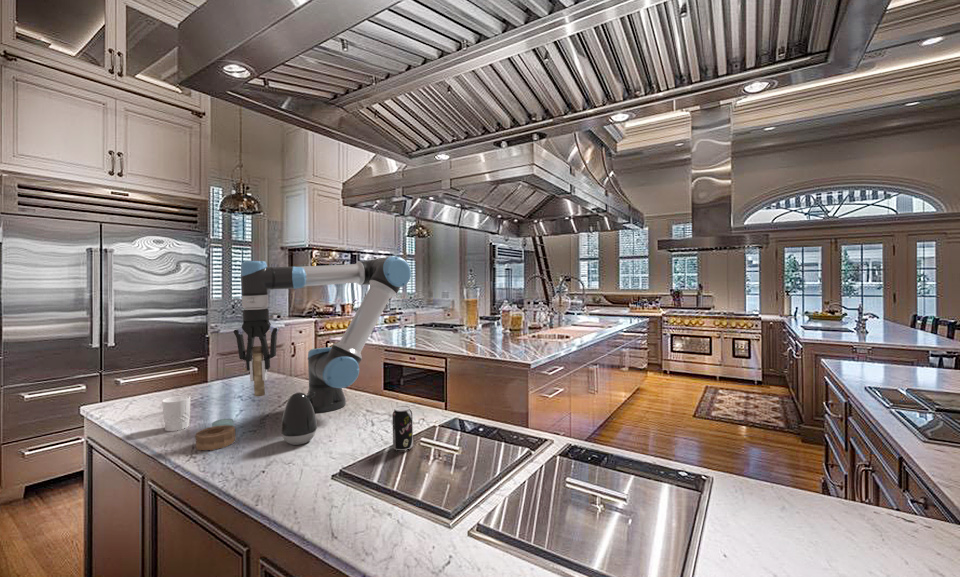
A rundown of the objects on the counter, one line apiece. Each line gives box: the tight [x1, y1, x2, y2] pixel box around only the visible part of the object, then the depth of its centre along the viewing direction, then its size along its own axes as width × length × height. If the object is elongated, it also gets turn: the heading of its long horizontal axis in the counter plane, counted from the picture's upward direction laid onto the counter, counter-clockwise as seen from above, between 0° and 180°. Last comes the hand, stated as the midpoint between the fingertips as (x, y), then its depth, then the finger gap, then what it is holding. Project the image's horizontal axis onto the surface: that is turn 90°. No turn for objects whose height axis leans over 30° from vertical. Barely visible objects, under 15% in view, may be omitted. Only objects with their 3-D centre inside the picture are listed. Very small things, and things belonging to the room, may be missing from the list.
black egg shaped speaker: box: [280, 391, 318, 446], centre depth 131 cm, size 10×10×15 cm
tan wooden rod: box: [252, 345, 266, 397], centre depth 140 cm, size 3×3×16 cm
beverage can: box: [391, 405, 414, 451], centre depth 125 cm, size 6×6×12 cm
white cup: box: [161, 395, 191, 432], centre depth 146 cm, size 8×8×10 cm
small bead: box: [211, 418, 234, 427], centre depth 141 cm, size 6×6×4 cm
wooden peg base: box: [194, 425, 236, 451], centre depth 131 cm, size 10×10×4 cm
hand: (259, 379), depth 140 cm, fingers closed on tan wooden rod, 3 cm apart
